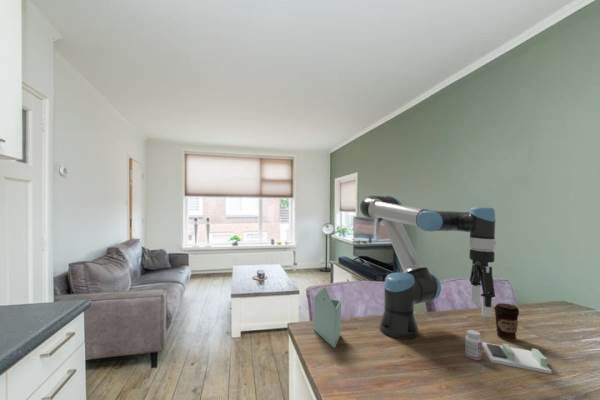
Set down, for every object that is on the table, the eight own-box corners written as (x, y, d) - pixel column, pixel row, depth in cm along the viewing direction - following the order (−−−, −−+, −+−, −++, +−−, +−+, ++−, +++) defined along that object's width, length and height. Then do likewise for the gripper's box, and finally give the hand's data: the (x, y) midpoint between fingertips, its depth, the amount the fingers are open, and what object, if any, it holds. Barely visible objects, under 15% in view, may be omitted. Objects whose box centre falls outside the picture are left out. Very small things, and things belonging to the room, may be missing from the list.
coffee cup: (525, 344, 106) (525, 310, 106) (500, 341, 107) (501, 308, 108) (512, 334, 114) (512, 303, 115) (490, 332, 116) (490, 301, 116)
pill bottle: (481, 361, 92) (481, 336, 92) (465, 357, 95) (465, 332, 95) (481, 355, 96) (481, 331, 96) (465, 351, 99) (465, 328, 99)
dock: (491, 362, 92) (491, 351, 92) (481, 344, 104) (481, 335, 104) (551, 374, 86) (551, 362, 86) (534, 354, 98) (534, 344, 98)
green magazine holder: (351, 344, 102) (353, 290, 102) (333, 348, 98) (335, 292, 99) (329, 326, 117) (330, 280, 117) (313, 329, 113) (314, 281, 114)
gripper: (507, 256, 85) (506, 324, 85) (483, 246, 109) (482, 299, 109) (480, 254, 88) (478, 320, 87) (461, 244, 112) (460, 296, 111)
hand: (480, 309), depth 98 cm, fingers open, 13 cm apart
